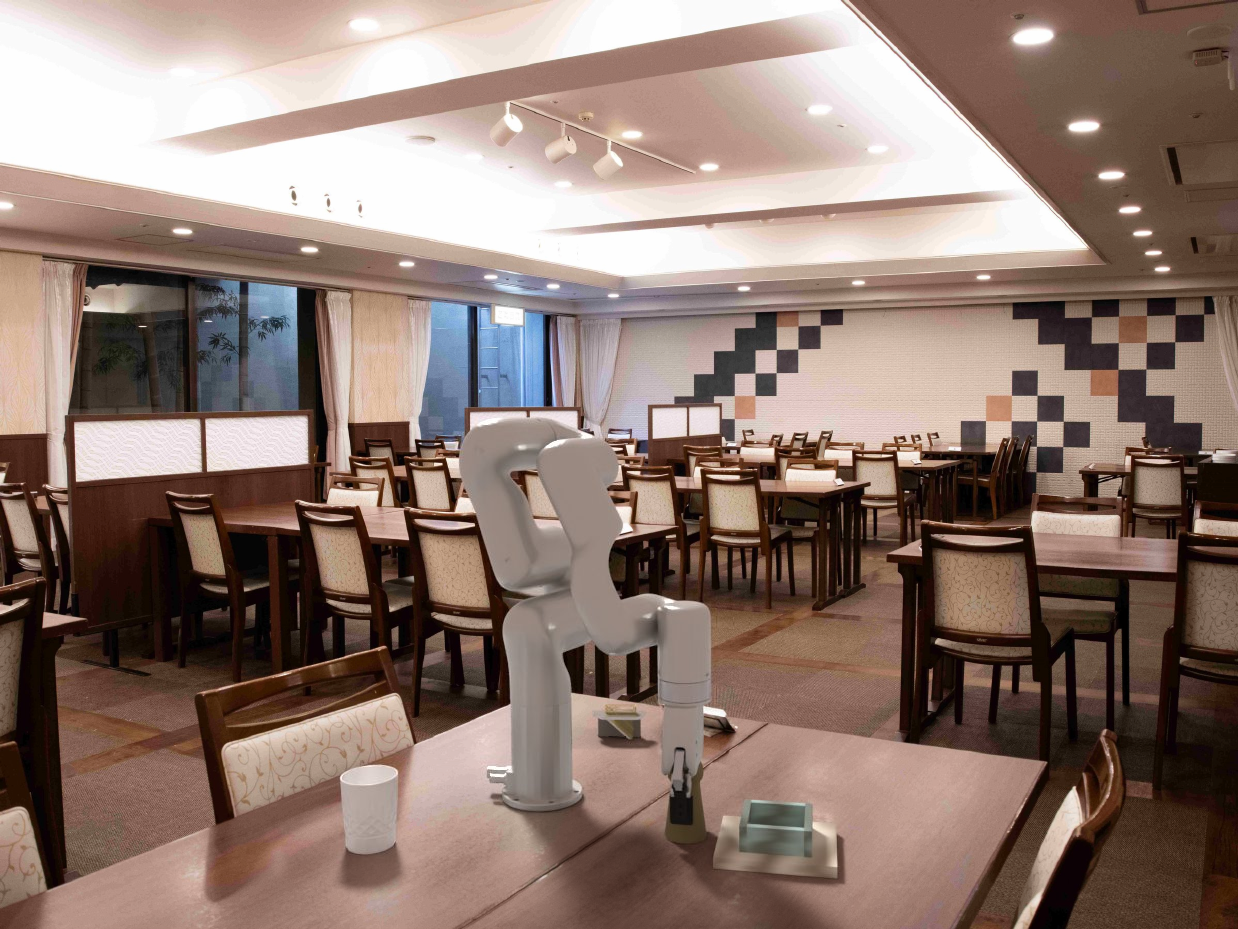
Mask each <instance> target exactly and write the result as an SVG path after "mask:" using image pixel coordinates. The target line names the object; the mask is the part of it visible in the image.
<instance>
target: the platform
mask: <svg viewBox="0 0 1238 929" xmlns="http://www.w3.org/2000/svg"><path fill="white" fill-rule="evenodd" d="M619 706H634V710H618V708H619ZM604 707H605V710H592V717H594V718H597V731H598V732H597V733H598V734H597V737H598V736H626V737H625V738H626V739H627V740H633V739H634V738H641V737H642V731H641V730H642V728H641V725H642V724H641V722H642V721H641V720H642V719H643V718H646V716H647V711H646V710H637V704H636V703H635V704H633V703H632V704H631V703H628V704H627V703H626V704H625V703H624V704H623V703H619V704H618V703H617V704H616V703H610V704H609V703H607V704H606V703H605V704H604Z"/></svg>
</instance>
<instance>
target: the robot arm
mask: <svg viewBox="0 0 1238 929" xmlns="http://www.w3.org/2000/svg"><path fill="white" fill-rule="evenodd" d="M458 455H459V456H458V457H459V458H458V468H459V474H460V479H461V481H462V484H463V487H464V489H465V492H466V495H467V497H468V498H469V500H470V503H471V505H472V507H473V510H474V512H475V515H476V519H477V522H478V525H479V528H480V531H481V532H480V533H481V536H482V539H483V543H484V545H485V546H484V547H485V549H486V552H487V556H488V558H489V562H490V565H491V567H492V568H491V569H492V571H493V574H494V576H495V579H496V581H497V582H498V584H499V585H500V587H502V588H504V589H505V590H507V591H510V592H523V591H528V590H533V589H536V588H542V592H543V594H540V595H536V596H532V597H528V598H525V599H523V600H521V601H519V602H518V603H516V604H515V605H513V606H512V607H511V608H510V610H509V611H508V612H507V613H506V615H505V617H504V618H503V619H504V620H503V624H502V638H503V643H504V644H503V645H504V649H505V654H506V657H507V658H506V659H507V663H508V666H507V667H508V672H509V673H508V675H509V700H510V738H511V739H510V742H511V743H510V744H511V745H510V746H511V750H510V751H511V752H510V754H511V765H507V766H506V767H500V766H498V765H497V766H494V765H489V766H488V767H487V770H486V778H487V779H489V780H488V781H489V783H490V784H503V785H504V787H503V788H502V790H501V799H502V801H503V802H504V803H505V804H506V805H508V806H509V807H511V808H514V809H517V810H522V811H527V812H528V811H529V812H549V811H556V810H560V809H561V810H562V809H566V808H568V807H570V806H573V805H575V804H576V803H578V802H579V801H580V800H581V799H582V797H583V794H584V793H583V786H582V784H580V783H579V782H578V781H577V780H575V779H573V727H572V726H573V721H572V720H573V717H572V715H573V714H572V713H573V712H572V704H573V703H572V686H571V685H572V683H571V677H570V674H569V672H568V671H569V670H568V669H567V667H566V665H565V662H564V658H563V656H562V655H563V653H565V652H567V651H570V650H573V649H576V648H579V647H582V646H584V645H586V644H589V643H590V642H591V641H592V642H593V644H594V646H596V647H597V648H598V650H599V651H601V652H603V653H604V654H606V655H608V656H613V657H623V656H626V655H629V654H631V653H634V652H637V651H639V650H642V649H647V648H650V647H653V646H654V647H655V646H657V698H658V702H659V703H660V704H662V705H664V706H663V707H664V708H663V714H662V716H663V718H662V733H661V734H662V735H661V740H662V741H661V766H660V767H661V774H662V775H663V776H668V775H667V774H669V773H670V771H671V768H672V774H671V781H670V786H671V792H670V791H669V794H670V823H671V824H678V825H692V824H693V796H691V786H692V777H693V776H695V775H696V773H697V771H698V768H699V764H700V761H702V759H703V755H704V754H703V752H704V735H705V734H704V727H705V726H704V722H705V718H704V715H705V714H704V706H706V705H708V704H710V703H711V701H712V637H711V636H712V624H711V623H712V618H711V617H712V616H711V611H710V608H709V607H708V606H707V605H705V603H702V602H699V601H694V600H675V599H672V598H668V597H665V596H662V595H658V594H654V593H643V594H639V595H636V596H630V597H627V598H624V599H621V598H620V596H619V594H618V591H617V590H616V587H615V585H614V582H613V580H612V577H611V573H610V567H609V558H610V553H611V549H612V547H613V544H614V543H615V541H616V539H617V538H618V537H619V536H620V534H621V533H622V531H623V527H624V522H623V520H622V517H621V516H620V513H619V512H618V510H617V509H618V508H616V505H615V504H614V501H613V499H612V497H611V496H610V493H609V491H608V488H609V487H611V486H612V485H613V484H614V483H615V481H616V479H617V478H618V475H619V471H620V467H619V466H620V465H619V464H620V463H619V458H618V456H617V452H615V450H614V448H612V446H611V445H610V444H609V443H608V442H607V441H605V440H604V439H602V438H601V437H599V436H596V435H593V434H592V433H588V432H585V431H583V430H580V429H578V428H575V427H573V426H570V425H568V424H565V423H563V422H560V421H557V420H555V419H552V418H548V417H547V418H546V417H540V416H539V417H538V416H537V417H535V416H534V417H533V416H532V417H531V416H530V417H515V416H514V417H497V418H491V419H486V420H483V421H481V422H479V423H477V424H475V426H472V428H471V429H470V430H469V431H468V432H467V434H466V435H465V436H464V439H463V441H462V443H461V447H460V450H459V454H458ZM531 470H536V471H537V475H538V478H539V480H540V483H541V485H542V488H543V489H544V490H545V491H544V492H545V493H546V495H547V498H548V500H549V503H550V504H551V506H552V509H553V510H554V512H555V515H556V516H557V518H558V520H559V523H560V524H561V526H562V527H560V526H555V525H543V526H538V525H537V523H536V521H535V518H534V516H533V515H534V514H533V512H532V510H531V506H530V503H529V500H528V498H527V496H526V494H525V492H524V491H523V490H522V489H521V486H519V485H518V484H517V482H515V480H513V478H512V477H511V473H512V472H516V471H517V472H519V471H531ZM685 756H686V758H685ZM684 770H689V774H688V773H683V772H684ZM683 779H687V785H686V783H685V782H683ZM686 786H687V787H686Z"/></svg>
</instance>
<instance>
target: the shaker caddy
mask: <svg viewBox="0 0 1238 929" xmlns="http://www.w3.org/2000/svg"><path fill="white" fill-rule="evenodd" d="M813 805H814V804H813V803H810V802H809V803H808V802H793V801H778V800H762V799H750V798H749V799H747V798H746V799H745V798H744V800H743V806H742V810H741V816H736V815H723V816H722V821H721V824H720V828H719V832H718V835H717V840H716V845H715V849H714V852H713V855H712V869H713V870H725V871H726V870H727V871H736V872H737V871H740V872H750V873H751V872H753V873H763V874H776V875H789V876H798V877H799V876H800V877H812V878H815V877H816V878H824V879H825V878H828V879H838V848H837V847H838V846H837V843H838V842H837V841H838V840H837V823H836V822H825V821H814V818H813V815H814V813H813V812H814V811H813V810H814V809H813Z"/></svg>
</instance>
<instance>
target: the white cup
mask: <svg viewBox="0 0 1238 929" xmlns="http://www.w3.org/2000/svg"><path fill="white" fill-rule="evenodd" d="M339 781H340V782H339V783H340V795H341V810H342V818H343V821H342V822H343V827H344V828H343V829H344V836H345V840H344V841H345V847H346V849H347V850H348V852H350V853H353V854H355V855H373V854H379V853H383V852H385V851H387V850H389V849H391V848H392V847H394V845H395V842H396V840H397V839H396V838H397V837H396V836H397V835H396V834H397V821H398V820H397V819H398V801H399V800H398V794H399V791H398V789H399V786H398V785H399V770H398V769H396V768H395V767H392V766H390V765H383V764H371V765H370V764H369V765H365V766H364V765H363V766H356V767H354V768H350V769H349V770H346V771H344V772H343V773H342V774H341V775H340V777H339Z"/></svg>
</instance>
